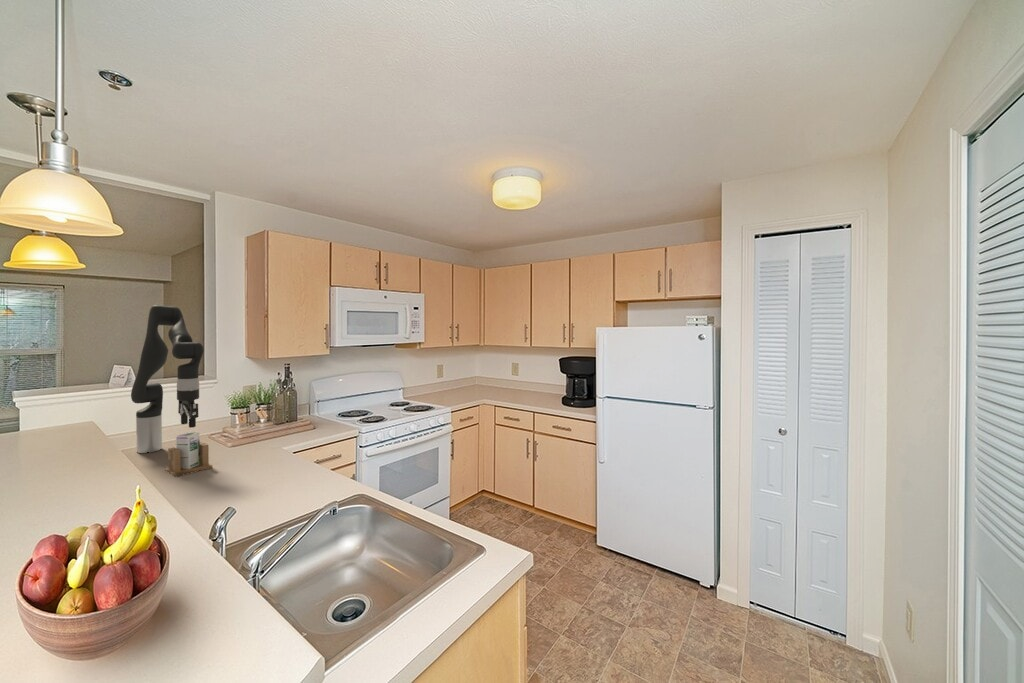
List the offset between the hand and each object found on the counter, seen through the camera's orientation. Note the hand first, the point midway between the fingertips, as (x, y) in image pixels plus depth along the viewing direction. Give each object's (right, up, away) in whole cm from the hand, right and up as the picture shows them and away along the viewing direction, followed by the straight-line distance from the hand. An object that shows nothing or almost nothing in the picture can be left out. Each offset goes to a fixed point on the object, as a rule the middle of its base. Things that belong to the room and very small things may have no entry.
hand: (188, 425), depth 172 cm
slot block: (0, -19, +1) cm, 19 cm away
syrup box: (-1, -18, +1) cm, 18 cm away
